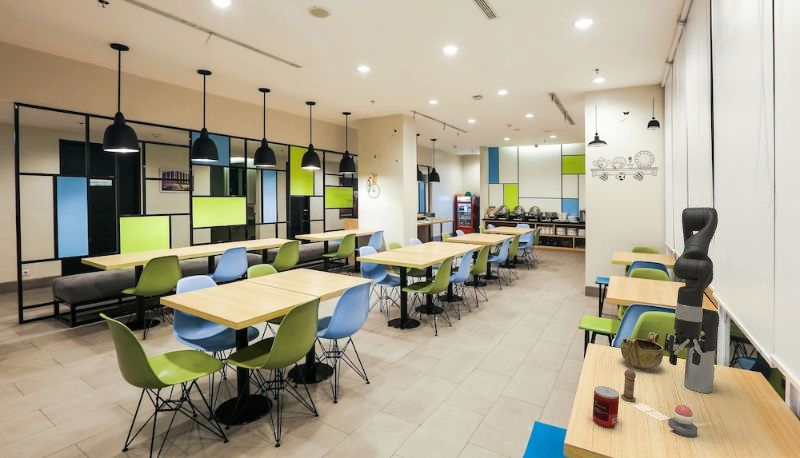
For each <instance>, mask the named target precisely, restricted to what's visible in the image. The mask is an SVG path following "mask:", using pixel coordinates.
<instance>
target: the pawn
mask: <svg viewBox="0 0 800 458" xmlns="http://www.w3.org/2000/svg"><path fill="white" fill-rule="evenodd" d="M623 374H624V384H623V385H624V387H623V393H622V394H621V395H620V396H621V399H622V400H621V399H620V400H621V401H623V400H624V401H623V402H625V401H626V402H625V403H627V402H630V403H631V404H635V403H634V402H636V400H637V398H636V397H635V396H634V395H635V394H634V393H635V382H636V381H635V379H636V377H637V375H636V372H635V371H634V370H632V369H626V370H625V371H624V373H623ZM636 403H637V402H636Z"/></svg>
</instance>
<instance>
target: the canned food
mask: <svg viewBox="0 0 800 458" xmlns="http://www.w3.org/2000/svg"><path fill="white" fill-rule="evenodd" d="M619 397H620V393H619V391H617V390H616V389H615V388H612V387H610V386H605V385H599V386H595V387H594V391H593V403H592V404H593V405H592V421H594V423H595V424H596V425H598V426H600V427H603V428H607V429H608V428H609V429H613V428H615V427H616V425H617V424H618V418H619V417H618V416H619V403H620V398H619Z"/></svg>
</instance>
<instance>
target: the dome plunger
mask: <svg viewBox="0 0 800 458" xmlns="http://www.w3.org/2000/svg"><path fill="white" fill-rule="evenodd" d="M673 418H674V419H675V420H676V421H678V422H680V423H683V424H692V423H693V424H694V414H693V410H692V409H691V408H690V407H689V406H687V405H685V404H679V405H676V407H675V409H674V411H673Z"/></svg>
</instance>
